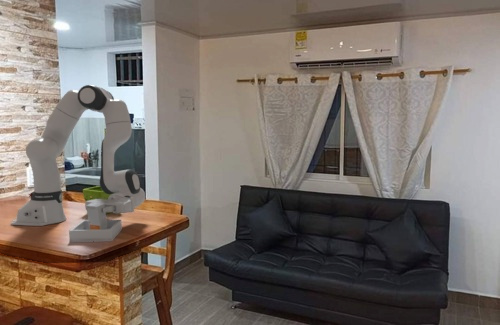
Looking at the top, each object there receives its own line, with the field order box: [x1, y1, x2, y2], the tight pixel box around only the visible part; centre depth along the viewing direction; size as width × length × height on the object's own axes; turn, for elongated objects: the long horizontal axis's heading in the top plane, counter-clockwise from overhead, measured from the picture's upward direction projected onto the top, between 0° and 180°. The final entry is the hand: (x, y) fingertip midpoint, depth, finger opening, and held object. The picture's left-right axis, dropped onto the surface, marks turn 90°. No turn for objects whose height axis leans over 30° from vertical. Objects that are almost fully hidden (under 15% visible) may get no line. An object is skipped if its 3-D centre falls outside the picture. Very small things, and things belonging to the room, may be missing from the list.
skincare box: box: [85, 203, 108, 230], centre depth 162 cm, size 6×4×12 cm
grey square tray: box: [68, 219, 123, 243], centre depth 163 cm, size 16×16×4 cm
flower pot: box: [82, 185, 118, 215], centre depth 202 cm, size 14×14×13 cm
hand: (95, 209), depth 161 cm, fingers open, 6 cm apart
